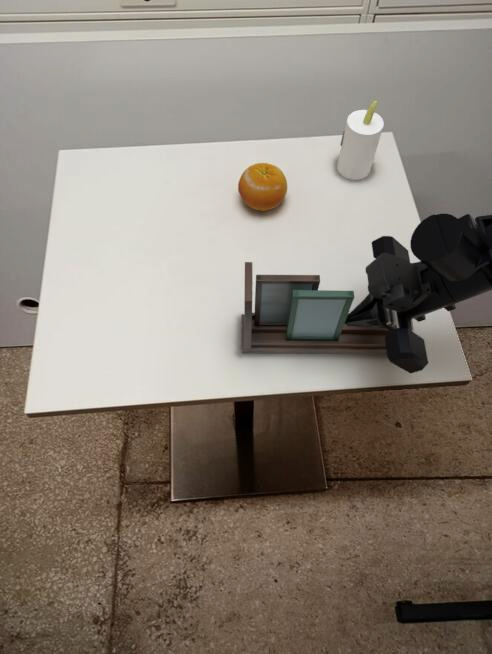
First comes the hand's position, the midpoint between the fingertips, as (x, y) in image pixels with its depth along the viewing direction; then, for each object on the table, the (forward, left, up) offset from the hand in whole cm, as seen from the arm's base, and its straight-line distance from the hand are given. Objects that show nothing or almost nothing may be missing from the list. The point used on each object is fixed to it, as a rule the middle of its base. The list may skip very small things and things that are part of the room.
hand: (345, 322), depth 72 cm
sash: (+4, 0, -5) cm, 7 cm away
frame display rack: (+3, -1, -7) cm, 7 cm away
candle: (-6, -37, -7) cm, 39 cm away
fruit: (+12, -29, -7) cm, 32 cm away
